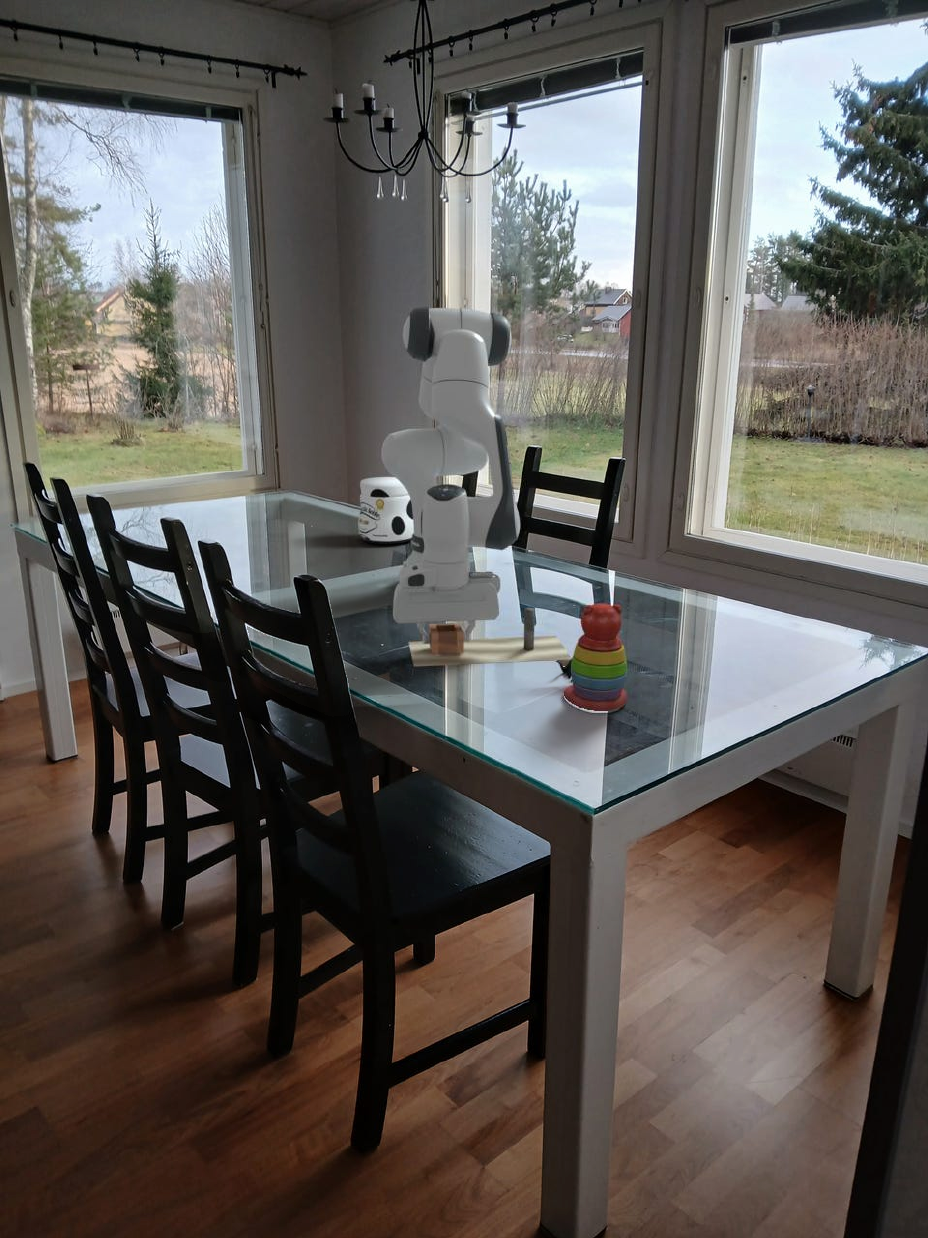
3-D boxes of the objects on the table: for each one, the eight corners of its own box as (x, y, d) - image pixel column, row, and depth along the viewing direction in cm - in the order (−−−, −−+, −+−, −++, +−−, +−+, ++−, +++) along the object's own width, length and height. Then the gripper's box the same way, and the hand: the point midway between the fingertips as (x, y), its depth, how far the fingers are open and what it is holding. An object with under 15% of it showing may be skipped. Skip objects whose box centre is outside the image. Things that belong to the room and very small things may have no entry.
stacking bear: (622, 691, 166) (627, 595, 161) (634, 714, 157) (640, 612, 151) (561, 692, 166) (565, 595, 161) (569, 715, 156) (573, 612, 151)
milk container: (349, 545, 275) (347, 484, 270) (371, 533, 291) (370, 475, 286) (404, 549, 270) (403, 487, 265) (424, 536, 286) (423, 477, 281)
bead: (429, 643, 184) (429, 623, 183) (459, 642, 185) (459, 622, 184) (432, 653, 178) (432, 633, 177) (463, 652, 179) (463, 632, 178)
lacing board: (408, 649, 188) (407, 603, 185) (555, 642, 192) (557, 598, 189) (413, 673, 175) (413, 625, 172) (571, 666, 178) (573, 618, 175)
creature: (607, 689, 171) (572, 670, 175) (614, 663, 168) (578, 645, 173) (583, 701, 165) (547, 682, 169) (590, 675, 163) (553, 656, 167)
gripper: (497, 567, 181) (496, 634, 186) (391, 570, 179) (392, 638, 183) (503, 575, 175) (502, 645, 180) (393, 578, 173) (394, 649, 177)
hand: (446, 642), depth 181 cm, fingers closed on bead, 6 cm apart
